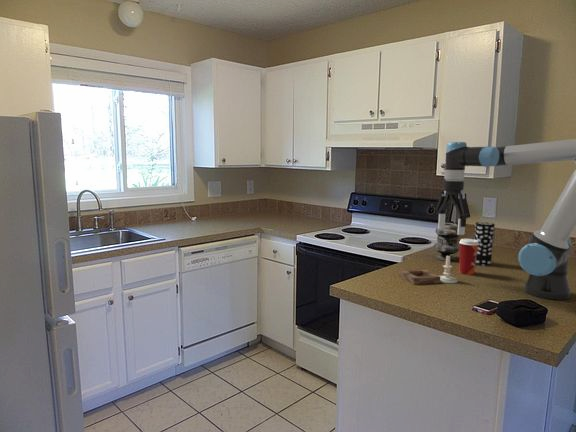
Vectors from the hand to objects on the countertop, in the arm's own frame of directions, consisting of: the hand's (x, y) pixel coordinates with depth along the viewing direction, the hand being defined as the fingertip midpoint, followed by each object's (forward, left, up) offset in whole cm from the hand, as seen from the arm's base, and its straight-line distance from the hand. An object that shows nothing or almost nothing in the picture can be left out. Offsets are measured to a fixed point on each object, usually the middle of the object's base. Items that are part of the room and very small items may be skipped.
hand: (450, 231), depth 172 cm
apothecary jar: (+34, -21, -21) cm, 45 cm away
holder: (+3, +11, -21) cm, 24 cm away
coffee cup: (+9, -16, -21) cm, 28 cm away
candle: (0, 0, -20) cm, 20 cm away
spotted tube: (+22, -33, -21) cm, 45 cm away
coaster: (0, 0, -21) cm, 21 cm away
